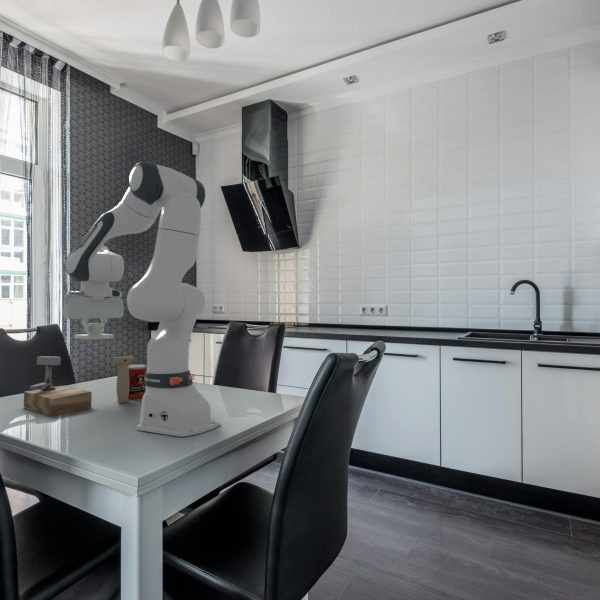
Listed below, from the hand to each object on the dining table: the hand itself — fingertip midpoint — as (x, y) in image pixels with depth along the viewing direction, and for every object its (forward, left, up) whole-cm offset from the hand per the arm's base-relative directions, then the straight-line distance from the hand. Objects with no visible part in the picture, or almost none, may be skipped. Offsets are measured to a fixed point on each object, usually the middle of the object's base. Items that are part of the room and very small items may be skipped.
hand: (94, 331), depth 145 cm
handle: (-14, -2, -23) cm, 27 cm away
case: (-4, +14, -23) cm, 27 cm away
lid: (0, 0, -2) cm, 2 cm away
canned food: (-10, -9, -23) cm, 27 cm away
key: (+1, +16, -18) cm, 24 cm away
